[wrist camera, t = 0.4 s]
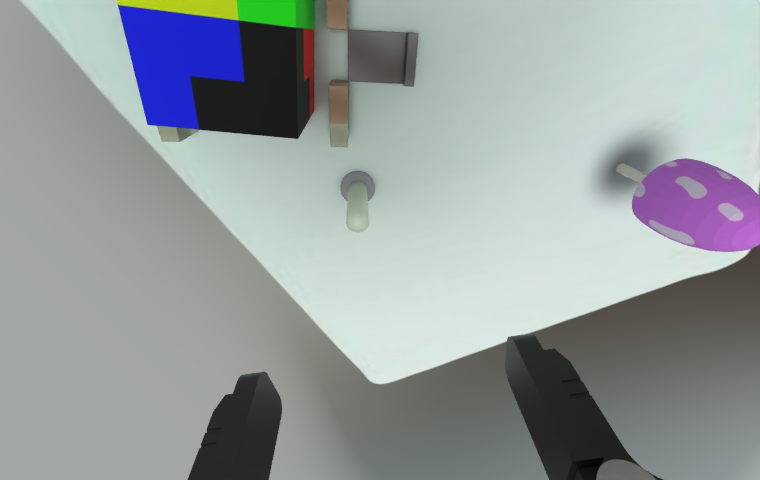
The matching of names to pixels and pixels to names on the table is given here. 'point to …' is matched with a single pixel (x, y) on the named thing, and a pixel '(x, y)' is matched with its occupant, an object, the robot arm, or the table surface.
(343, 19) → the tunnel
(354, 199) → the goal post
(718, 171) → the toy
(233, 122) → the puzzle toy
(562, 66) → the table surface
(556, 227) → the table surface
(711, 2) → the table surface
